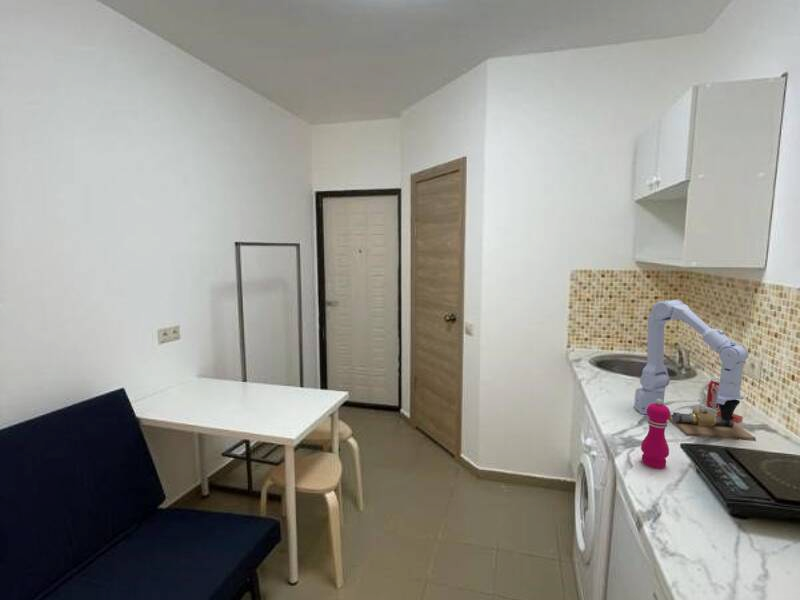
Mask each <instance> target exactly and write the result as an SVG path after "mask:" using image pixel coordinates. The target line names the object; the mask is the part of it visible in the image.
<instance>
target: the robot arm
mask: <svg viewBox="0 0 800 600" xmlns="http://www.w3.org/2000/svg"><path fill="white" fill-rule="evenodd" d="M647 317H648V318H647V328H646V330H647V331H646V332H647V340H646V341H647V343H646V346H647V347H646V349H647V353H646V355H647V356H646V359H647V361H646V364H645V367H643V369H642V372H641V373H642V374H641V376H640V377H639V383H640V385H641V387H637V388H636V389H635V394H634V403H633V407H634V408H635V410H636V411H638V412H639V413H640V414H642V415H647V408H648V406H649V405H651V404H653V403H656V400H657V399H661V400H662V401H663V405H665V392H666V388H667V386H669V384H670V383H671V379H670V376H669V374H668V368H667V367H666V366H665V364H664V362H665V361H664V359H665V357H664V355H665V350H664V349H665V324H667V323H668V322H669V321H671V320H678V321H682V322H684V323H686V324H687V325H688V326H690V327H691V328H692V329H694V330H695V331H696V332H697V333H699V334H700V335H701V336H702V337H701V338H702V341H703V343H706V344H707V345H708V346H709V347H710V348H711V349H712V350H713V351H715V352H716V353H717V354H718V356H719V359H720V360H721V367H720V376H719V379H720V383H719V391H718V397H717V399H716V401H717V403H718V405H719V407H720V412H721V418H722V419H723V420H726V421H730V419H731V417H732V415H733V414H734V412H735V409H736V408H737V407H738V406H739V404H740V403H741V401H743V400H745V396H742V395H741V391H742V388H741V387H742V380H743V375H744V374H743V373H744V365H745V361H747V360H748V358H749V352H748V349H747V348H746V347H745V346H744V345H742V344H737V342H736V341H735V340H731V339H730V338H729V337H728V336H727V335H726V334H724V331H723V330H722V329H718V328H711V327H709V325H707V324H706V322H704V321H703V320H702V319H701V318H700V317H699V316H698V315H697V314H695V313H694V312H693V310H691V309H690V307H689V306H688V305H687V304H684V302H683V301H682V300H680V299H673V300H660V301H658V302H655V304H653V305H652V306H651V311H650V313H649V316H647ZM740 400H741V401H740Z"/></svg>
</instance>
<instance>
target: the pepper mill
mask: <svg viewBox="0 0 800 600" xmlns="http://www.w3.org/2000/svg"><path fill="white" fill-rule="evenodd" d="M646 415H647V416H648V417H647V424H648V431H647V432H648V433H647V434H646V436H645V437H644V439H642V441H641V446H640V450H641V452H642V455H641V462H642V463H643V464H644V465H646V466H647V467H650V468H654V469H658V470H659V469H665V468H666V467H667V459H666V458H667V457H669V455H670V448H669V444H668V442H667V439H666V436H665V433H666V432H665V430H666V428H667V427H668V423H669V422H668V421H669V418H670V415H671V409H670V408H669V407H668V406H667V405H665V404H663V401H662V400H661V399H657V400H656V403H653V404H651V405H649V406H648V408H647V414H646Z"/></svg>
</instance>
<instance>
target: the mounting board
mask: <svg viewBox="0 0 800 600" xmlns="http://www.w3.org/2000/svg"><path fill="white" fill-rule="evenodd" d="M672 416H673V414H670V418H669V419H668V421H670V422H671V423H672V424H673V425H674V426H675V427H677V428H678V429H679V430H680V431H681V432H682V433H683V434H684V435H685V436H686V437H688V436H689V437H700V438H711V439H713V438H714V439H728V440H739V439H741V441H753V440H755V441H756V436H754V435H752V434H751V433H749V432H748V431H747V430H745V429H743V427H740V426H739V425H738V424H737V423H736V422H734V425H733V427H728V426H721V425H716V426H713V427H702V426H697V425H695V424H691V423H674V422H673V418H672Z"/></svg>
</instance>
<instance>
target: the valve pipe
mask: <svg viewBox="0 0 800 600" xmlns="http://www.w3.org/2000/svg"><path fill="white" fill-rule="evenodd" d="M672 415H673V416H672V418H673V422H674V423H691V424H695V425H697V426H702V427H713V426H716V425H721V426H728V427H733V425H734V423H735V422H733V421H726V420H723V419H722V418H721V417H718V416H717V415H716V414H714V413H711V412H702V411H699V408H692V410H691V413H680V412H675V411H674V412H673V413H672Z"/></svg>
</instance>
